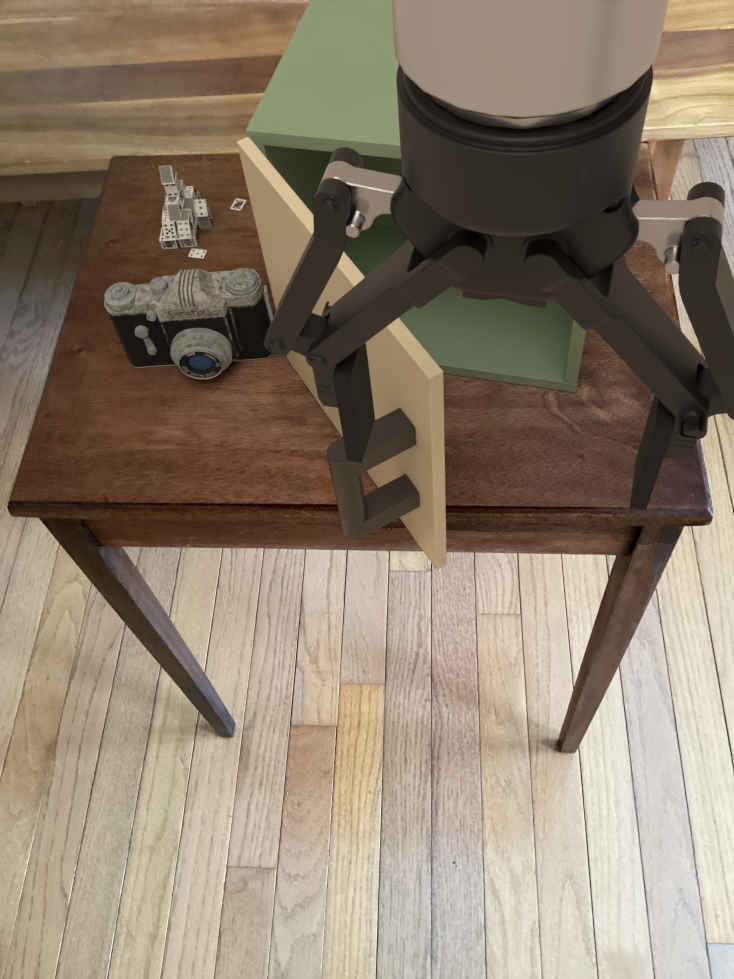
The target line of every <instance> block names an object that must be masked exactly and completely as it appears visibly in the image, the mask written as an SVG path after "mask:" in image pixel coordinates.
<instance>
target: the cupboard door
mask: <svg viewBox="0 0 734 979" xmlns="http://www.w3.org/2000/svg"><path fill="white" fill-rule="evenodd" d="M236 146H237V149H238V154H239V159H240V162H241V166H242V171H243V176H244V179H245V184H246V188H247V192H248V196H249V201H250V205H251V210H252V213H253V214H252V215H253V218H254V222H255V228H256V230H257V235H258V239H259V244H260V247H261V252H262V256H263V261H264V266H265V269H266V273H267V277H268V282H269V287H270V290H271V296H272V299H273V304H274V308H275V311H276V310H277V307H278V305H279V302H280V300H281V298H282V296H283V294H284V292H285V289H286V287H287V285H288V283H289V281H290V279H291V277H292V275H293V273H294V271H295V269H296V267H297V265H298V263H299V261H300V259H301V256H302V254H303V252H304V250H305V248H306V246H307V244H308V242H309V240H310V238H311V236H312V234H313V232H314V221H313V214H312V213H311V211H310V210H309V209H308V208H307V207H306V205H305V204H304V203H303V202H302V201H301V199H300V198H299V197H298V196H297V195H296V193H295V192H294V191H293V190H292V189H291V187H290V186H289V185H288V184H287V183H286V181H285V180H284V179H283V178H282V176H281V175H280V174H279V173H278V172H277V170H276V169H275V168H274V167H273V166H272V164H271V163H270V162H269V161H268V160H267V158H266V157H265V156H264V155H263V154H262V152H261V151H260V150H259V149H258V148H257V146H256V145H255V144H254V143H253V141H252V140H251V139H250V138H249V137H247V136H246V137H244V138H242V139H240V140H237V141H236ZM364 278H365V277H364V275H363V274H362V273H361V272H360V271H359V269H358V268H357V267H356V266H355V265H354V263H353V262H352V261H351V260H350V258H349V257H348V256H347V255H346V254H345V252H343V254H342V256H341V259H340V261H339V263H338V265H337V266H336V268H335V270H334V272H333V274H332V276H331V277H330V279H329V281H328V283H327V285H326V287H325V289H324V290H323V292H322V294H321V296H320V298H319V300H318V301H317V303H316V305H315V307H314V309H313V311H312V313H314V314H317V315H319V316H321V315H322V312H323V309H324V307H325V304H326V302H327V301H329V306H332V305H333V304H334V303H335V302H337V301H338V300H339V299H340V298H341V297H343V296H344V295H345V294H346V293H347V292H348V291H350V290H351V289H352V288H353V287H354V286H355V285H357V284H358V283H359V282H360V281H361V280H362V279H364ZM366 348H367V356H368V365H369V373H370V381H371V389H372V397H373V405H374V413H375V422H374V425H373V428H372V432H371V435H370V438H369V441H368V445H367V448H366V451H365V454H364V458H363V461H362V463H359V462H353V461H347V457H346V451H345V445H344V440H343V434H342V428H341V423H340V417H339V411H338V408H335V407H329V406H324V405H323V404H322V403H321V401H320V400H319V399H318V394H317V389H316V384H315V379H314V374H313V369H312V367H311V366H310V365H308V363H307V362H306V357H304V356H303V355H301V354H299V353H296V352H294V351H290V352H289V353H288V354H287V355H286V359H287V361H288V362H289V364H290V365H291V366H292V368H293V369H294V371H295V372H296V373H297V375H298V376H299V378H300V379H301V381H302V382H303V384H304V385H305V386H306V387H307V389H308V390H309V392H310V394H312V396H313V398H314V399H315V401H316V402H317V403H318V405H319V406H320V407H321V409H322V411H323V412H324V413H325V415H326V417H328V419H329V420H330V422H331V423H332V424H333V426H334V427H335V429H336V430H337V432H338V433H339V435H340V436H341V437H339V438H338V439H336V440H333V441H332V442H330V443H329V445H328V446H327V449H326V457H327V462H328V463H327V464H328V468H329V472H330V476H331V482H332V486H333V492H334V496H335V502H336V505H337V506H336V507H337V510H338V511H337V512H338V515H339V520H340V524H341V525H340V526H341V529H342V533H343V535H344V536H345V537H346V538H348V539H350V540H360V539H363V538H364V537H366V536H368V535H370V534H372V533H374V532H376V531H377V530H379V529H381V528H383V527H385V526H387V525H388V524H390V523H392V522H394V521H396V520H397V519H400V521H401V522H402V524H403V525H404V526H405V528H406V529H407V531H408V532H409V533H410V535H411V537H412V538H413V539H414V540H415V542H416V543H417V545H418V546H419V548H420V549H421V551H422V552H423V553H424V555H425V557H426V558H427V559H428V560H429V562H430V563H431V565H432V566H433V567H434V569H435V570H439V569H441V568H444V566H446V565H447V564H448V563H447V562H448V561H447V510H446V506H447V505H446V504H447V503H446V500H447V499H446V461H445V460H446V450H445V448H446V446H445V445H446V444H445V397H444V396H445V393H444V392H445V389H444V385H445V384H444V373H443V371H442V369H441V368H440V367H439V366H438V365H437V363H436V362H435V361H434V360H433V359H432V357H431V356H430V355H429V354H428V353H427V351H426V350H425V349H424V348H423V347H422V345H421V344H420V343H419V342H418V341H417V339H416V338H415V337H414V336H413V334H412V333H411V332H410V331H409V330H408V328H407V327H406V326H405V325H404V324H403V322H402V321H401V320H400V319H399V318H397V319H396V320H395V321H393V322H392V323H391V324H389V325H388V326H387V327H385V328H384V329H383V330H381V331H380V332H379V333H378V334H376V335H375V336H374V337H372V338H371V339H370V340H368V341H367V342H366ZM365 472H367V474H368V476H369V477H370V478H371V480H372V481H373V483H374V484H375V485H376V487H377V488H375V489H373V490H372V491H370V492H368V493H366V494H365V491H364V484H363V478H362V474H363V473H365Z"/></svg>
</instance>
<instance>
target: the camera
mask: <svg viewBox="0 0 734 979" xmlns="http://www.w3.org/2000/svg"><path fill="white" fill-rule="evenodd" d="M103 299H104V300H103V304H104V308H105V310H106V312H107V315H108V317H109V319H110V321H111V324H112V325H113V328H114V330H115V332H116V334H117V336H118V339H119V341H120V343H121V346H122V347H123V350H124V351H125V354H126V357H127V359H128V361H129V363H130V364H131V366H132V367H133V368H135V369H139V368H140V369H141V368H143V369H144V368H156V367H172V366H173V367H174V366H177V368H179V370H180V371H181V372H182V373H183V374H184V375H185V376H187V377H189V378H192V379H195V380H204V381H205V380H211V379H214V378H216V377H218V376H219V375H220V374H221V373H222V372H224V371H225V370H227V369H228V367H230V365H231V363H233V362H242V361H243V362H244V361H255V360H267V359H269V358H270V357H272V355H274V354H273V353H271V352H270V351H268V350H267V349H266V348H265V346H264V339H265V337H266V334H267V332H268V329H269V327H270V324H271V322H272V320H273V317H274V312H273V309H272V304H271V299H270V295H269V292H268V287H267V285H266V284H265V285H264V284H263V282H262V279H261V276H260V274H259V272H258V271H257V270H255V269H253V268H248V267H238V268H236V269H233V270H221V271H220V270H219V271H208V270H206V269H201V268H189V269H188V268H187V269H179V271H178V272H177V273H176V274H170V275H169V274H167V275H163V276H162V277H161V276H157V277H154V278H152V279H151V280H150V282H148V283H140V284H133V283H130V282H128V281H119V282H116V283H114V284H112V285H110V286H109V287H108V288H107V289H106V290H105V292H104V298H103Z"/></svg>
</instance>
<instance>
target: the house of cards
mask: <svg viewBox="0 0 734 979" xmlns="http://www.w3.org/2000/svg"><path fill="white" fill-rule="evenodd" d="M158 172H159V176H160V183H161V185H163V188H164V190H165V194H166V195H165V196H164V204H163V207H162V213H161V226H162V227H161V228H160V232H159V238H158V242H159V245H160V247H161V250H172V249H177V250H179V249H182V248H191V249H190V251H189V253H188V254H187V255H188V256H187V258H192V259H202V260H204V259H205V257H206V254H207V253H208V249H202V248H194V247H198V243H197V233H198V227H199V229H212V224H211V220H212V219H213V216H212V212H211V209H210V208H211V207H210V203H209V201H208V200H207V199H206V198H202V196H201V194H200V191H199V190H198V191H197V189H196V188H195V187H194V185H186V184H185V182H184V180H183V179H179V177H178V171H177V170H175V168H174V167H173V165H172V164H170V165H169V164H168V165H159V166H158ZM247 201H248V200H247V199H242V198H238V197H237V198H235V199H234V201H233V202H232V205H231V206H230V207H229V210H232V211H239V212H241V211H242V209H243V208H244V205H245V204H246V203H247ZM210 219H211V220H210Z"/></svg>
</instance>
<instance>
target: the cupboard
mask: <svg viewBox="0 0 734 979" xmlns="http://www.w3.org/2000/svg"><path fill="white" fill-rule="evenodd" d="M293 32H294V33H293V34H292V36H291V38H290V40H289V42H288V44H287V46H286V48H285V50H284V52H283V54H282V55H281V56H282V57H281V58H280V60H279V62H278V64H277V66H276V68H275V70H274V72H273V75H272V76H271V78H270V81H269V82H268V85H267V86H266V88H265V90H264V93H263V94H262V96H261V98H260V101H258V102H259V103H258V104H257V107H256V108H255V111H254V112H253V114H252V116H251V118H250V120H249V123H248V125H247V127H246V129H245V134H246V137H249V138H250V139H251V140H252V141H253V143H254V144H255V145H256V146H257V148H258V149H259V150H260V151H261V152H262V154H263V155H264V156H265V157H266V158H267V160H268V161H269V162H270V163H271V164H272V166H273V167H274V168H275V169H276V170H277V172H278V173H279V174H280V175H281V176H282V178H283V179H284V180H285V181H286V183H287V184H288V185H289V186H290V187H291V189H292V190H293V191H294V192H295V193H296V195H297V196H298V197H299V198H300V199H301V201H302V202H303V203H304V204H305V205H306V207H307V208H308V209H309V210H310V211H311V213H312V214H313V201H314V197H315V194H316V192H317V190H318V187H319V185H320V182H321V180H322V177H323V175H324V173H325V170H326V168H327V165H328V163H329V161H330V158H331V156H332V153H333V152H334V151H335V150H336V149H338V148H340V147H348V148H351V149H354V150H355V151H356V152H358V153H359V154H360V156H361V157H362V159H363V164H364V169H368V170H373V171H378V172H383V173H388V174H393V175H398V176H400V174H401V173H402V167H401V150H400V133H399V117H398V100H397V83H396V78H397V70H398V66H399V62H398V60H397V59H396V55H395V48H394V41H393V21H392V0H309V2H308V4H307V6H306V8H305V10H304V12H303V14H302V16H301V18H300V20H299V22H298V24H297V26H296V28H295V30H294V31H293ZM407 240H408V239H407V238H406V237H405V236H404V235H403V233H402V232H401V231H400V230H399V229H398V228H397V226H396V225H395V223H394V222H393V219H392V217H391V214H382V215H379V216H377V217H376V218H375V219H374V221H373V224H372V226H371V227H370V228H369V229H367V230H363V231H361V232H360V235H359V236H358V237H356V238H352V237H349V238H348V241H347V244H346V246H345V249H344V252H345V254H346V255H347V256H348V257H349V258H350V260H351V261H352V262H353V263H354V265H355V266H356V267H357V268H358V269H359V271H360V272H361V273H362V274H363V275H364V277H366V276H367V275H368V274H370V273H371V272H372V271H373V270H374V269H375V268H377V267H378V266H379V265H380V264H381V263H382V262H384V261H385V260H386V259H387V258H388V257H390V256H391V255H392V254H393V253H394V252H395V251H397V250H398V249H399V248H400V247H401V246H402V245H404V244H405V243H406V241H407ZM399 319H400V320H401V321H402V322H403V324H404V325H405V326H406V327H407V328H408V330H409V331H410V332H411V333H412V334H413V336H414V337H415V338H416V339H417V341H418V342H419V343H420V344H421V345H422V347H423V348H424V349H425V350H426V351H427V353H428V354H429V355H430V356H431V357H432V359H433V360H434V361H435V362H436V363H437V365H438V366H439V367H440V368H441V369H442V371H443V375H444V374H445V375H452V376H459V377H466V378H472V379H479V380H487V381H493V382H498V383H499V382H500V383H506V384H514V385H521V386H527V387H534V388H542V389H549V390H555V391H561V392H569V393H577V386H578V382H579V381H578V380H579V375H580V370H581V364H582V358H583V352H584V348H585V346H584V345H585V341H586V335H587V330H584V329H583V328H581V327H580V326H579V324H578V323H577V322H576V321H575V320H574V319H573V318H572V317H571V316H570V315H569V314H568V313H567V312H566V311H565V309H564V308H563V307H562V306H561V305H560V304H559V303H558V302H557V301H553V302H547V305H546V308H541V307H533V306H525V305H522V304H519V303H516V302H513V301H510V300H507V299H492V300H478V299H470V298H463V291H460V290H458V289H456V288H454V287H452V286H450V287H449V288H448V289H446V290H445V291H444V292H442V293H441V294H439V295H438V296H437V297H435V298H434V299H433V300H431V301H430V302H429V303H427V304H426V305H425V306H423V307H422V308H417V307H415V306H413V307H412V308H411V309H409V310H408V311H407V312H405V313H404V314H403V315H401V316H400V317H399Z"/></svg>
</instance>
